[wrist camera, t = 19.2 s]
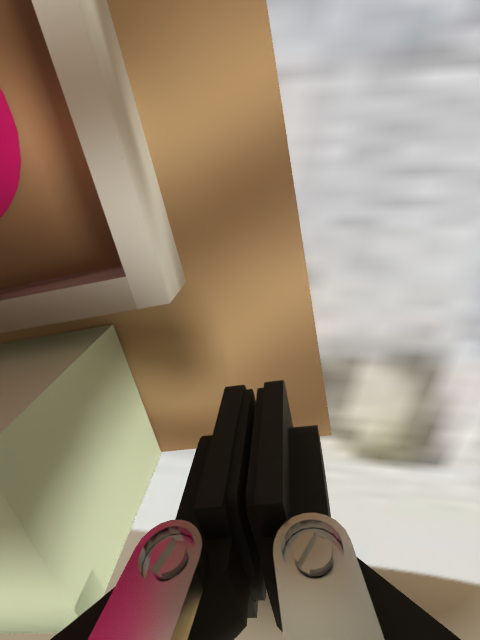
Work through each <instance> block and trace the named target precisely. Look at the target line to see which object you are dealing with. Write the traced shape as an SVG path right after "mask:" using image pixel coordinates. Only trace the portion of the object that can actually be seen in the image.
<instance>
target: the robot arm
mask: <svg viewBox="0 0 480 640" xmlns="http://www.w3.org/2000/svg"><path fill="white" fill-rule="evenodd" d="M266 589H267V593H268V596H269V599H270V603H271V606H272V610H273V613H274V617H275V620H276V624H277V626H278V628H279V629H280V630H281V631H282V632H283V637H284V640H460V639H459V638H458V637H457V636H456V635H454V634H453V633H452V632H451V631H449V630H448V629H447V628H445V627H444V626H443V625H442V624H440V623H439V622H438V621H437V620H435V619H434V618H433V617H432V616H430V615H429V614H428V613H427V612H425V611H424V610H423V609H422V608H420V607H419V606H418V605H416V604H415V603H414V602H413V601H411V600H410V599H409V598H408V597H406V596H405V595H404V594H403V593H401V592H400V591H399V590H398V589H396V588H395V587H394V586H393V585H391V584H390V583H389V582H387V581H386V580H385V579H384V578H383V577H381V576H380V575H379V574H377V573H376V572H375V571H374V570H372V569H371V568H370V567H369V566H367V565H366V564H365V563H364V562H362V561H361V560H360V559H359V558H357V557H356V554H355V551H354V548H353V545H352V542H351V540H350V538H349V536H348V534H347V532H346V530H345V529H344V528H343V527H342V526H341V525H340V524H339V523H338V522H337V521H336V520H334V519H332V518H331V514H330V506H329V499H328V491H327V484H326V476H325V469H324V462H323V455H322V449H321V443H320V436H319V430H318V425H312V426H302V427H293V423H292V417H291V412H290V407H289V402H288V397H287V391H286V386H285V382H284V380H278V381H270V382H264V387H263V388H258V389H257V396H256V400H255V395H254V392H253V389H246V386H245V385H236V386H228V387H225V389H224V392H223V396H222V400H221V404H220V408H219V412H218V416H217V420H216V424H215V428H214V432H213V435H207V436H202V437H201V438H200V440H199V442H198V446H197V449H196V452H195V456H194V459H193V462H192V466H191V469H190V473H189V476H188V479H187V483H186V486H185V489H184V493H183V496H182V499H181V503H180V506H179V509H178V513H177V516H176V520H170V521H167V522H164V523H161V524H159V525H158V526H156V527H154V528H153V529H151V530H150V531H149V532H148V533H147V534H146V535H145V536H144V537H143V538H142V539H141V540H140V542H139V544H138V545H137V546H136V548H135V550H134V552H133V554H132V555H131V557H130V560H129V561H128V563H127V565H126V567H125V569H124V571H123V573H122V575H121V577H120V579H119V581H118V582H117V584H116V586H115V587H114V588H113V589H112V590H111V591H110V592H108V593H107V594H106V595H105V596H103V597H102V598H101V599H100V600H98V601H97V602H96V603H95V604H93V605H92V606H91V607H90V608H89V609H87V610H86V611H85V612H84V613H82V614H81V615H80V616H79V617H78V618H76V619H75V620H74V621H73V622H71V623H70V624H69V625H68V626H66V627H65V628H64V629H63V630H62V631H60V632H59V633H58V634H57V635H55V636H54V637H53V638H52V639H51V640H237V639H236V637H237V636H238V635H239V634H240V633H241V631H242V630H243V629H244V628H245V627H246V626H247V618H257V607H258V600H265V598H266Z"/></svg>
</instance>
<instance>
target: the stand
mask: <svg viewBox="0 0 480 640" xmlns="http://www.w3.org/2000/svg"><path fill="white" fill-rule="evenodd" d="M0 89H1V90H2V92H3V93H4V95H5V98H6V100H7V103H8V105H9V108H10V111H11V113H12V116H13V119H14V122H15V125H16V127H17V130H18V137H19V146H20V155H21V168H20V178H19V184H18V189H17V191H16V194H15V196H14V198H13V200H12V202H11V204H10V206H9V208H8V210H7V211H6V212H5V213H4V215H3V216H2V217H1V218H0V343H5V342H11V341H17V340H23V339H29V338H35V337H41V336H47V335H52V334H58V333H64V332H70V331H76V330H82V329H88V328H94V327H100V326H106V325H112V324H113V325H114V328H115V331H116V333H117V336H118V339H119V341H120V344H121V347H122V349H123V352H124V355H125V357H126V360H127V363H128V365H129V368H130V371H131V373H132V376H133V379H134V381H135V384H136V387H137V389H138V392H139V395H140V397H141V400H142V403H143V405H144V408H145V411H146V413H147V416H148V419H149V421H150V424H151V427H152V429H153V432H154V435H155V437H156V440H157V443H158V445H159V448H160V451H161V452H164V451H174V450H184V449H195V448H197V446H198V442H199V440H200V438H201V437H202V436H207V435H213V432H214V428H215V424H216V420H217V416H218V412H219V408H220V404H221V400H222V396H223V392H224V389H225V387H228V386H236V385H245V386H246V389H253V392H254V395H255V400H256V396H257V389H258V388H263V387H264V382H270V381H278V380H284V382H285V386H286V391H287V397H288V402H289V407H290V412H291V417H292V423H293V427H302V426H312V425H318V430H319V436H326V435H331V428H330V421H329V415H328V408H327V402H326V395H325V388H324V382H323V375H322V368H321V362H320V355H319V348H318V342H317V335H316V329H315V322H314V315H313V309H312V302H311V295H310V289H309V282H308V276H307V269H306V262H305V256H304V249H303V242H302V236H301V229H300V222H299V216H298V209H297V203H296V196H295V189H294V183H293V176H292V169H291V163H290V156H289V150H288V143H287V136H286V130H285V123H284V116H283V110H282V103H281V96H280V90H279V83H278V77H277V70H276V63H275V57H274V50H273V43H272V37H271V30H270V23H269V17H268V10H267V4H266V0H0Z"/></svg>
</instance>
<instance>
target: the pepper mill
mask: <svg viewBox="0 0 480 640" xmlns="http://www.w3.org/2000/svg"><path fill="white" fill-rule="evenodd" d="M20 168H21V155H20V146H19V137H18V130H17V127H16V125H15V122H14V119H13V116H12V113H11V111H10V108H9V105H8V103H7V100H6V98H5V95H4V93H3V92H2V90H1V89H0V218H1V217H2V216H3V215H4V213H5V212H6V211H7V210H8V208H9V206H10V204H11V202H12V200H13V198H14V196H15V194H16V191H17V189H18V184H19V178H20Z"/></svg>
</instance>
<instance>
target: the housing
mask: <svg viewBox="0 0 480 640" xmlns="http://www.w3.org/2000/svg"><path fill="white" fill-rule="evenodd" d="M161 454H162V453H161V451H160V448H159V445H158V443H157V440H156V437H155V435H154V432H153V429H152V427H151V424H150V421H149V419H148V416H147V413H146V411H145V408H144V405H143V403H142V400H141V397H140V395H139V392H138V389H137V387H136V384H135V381H134V379H133V376H132V373H131V371H130V368H129V365H128V363H127V360H126V357H125V355H124V352H123V349H122V347H121V344H120V341H119V339H118V336H117V333H116V331H115V328H114V325H113V324H112V325H106V326H100V327H94V328H88V329H82V330H76V331H70V332H64V333H58V334H52V335H47V336H41V337H35V338H29V339H23V340H17V341H11V342H5V343H0V634H3V633H4V634H5V633H7V634H8V633H9V634H11V633H14V634H17V633H59V632H60V631H62V630H63V629H64V628H65V627H66V626H68V625H69V624H70V623H71V622H73V621H74V620H75V619H76V618H78V617H79V616H80V615H81V614H82V613H84V612H85V611H86V610H87V609H89V608H90V607H91V606H92V605H93V604H95V603H96V602H97V601H98V600H100V599H101V598H102V597H103V595H104V593H105V590H106V588H107V585H108V583H109V580H110V578H111V575H112V573H113V570H114V568H115V566H116V563H117V561H118V558H119V556H120V553H121V551H122V548H123V546H124V544H125V541H126V539H127V536H128V534H129V532H130V529H131V527H132V524H133V522H134V519H135V517H136V515H137V512H138V510H139V507H140V505H141V502H142V500H143V497H144V495H145V493H146V490H147V488H148V485H149V483H150V480H151V478H152V476H153V473H154V471H155V468H156V466H157V463H158V461H159V458H160V456H161Z"/></svg>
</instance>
